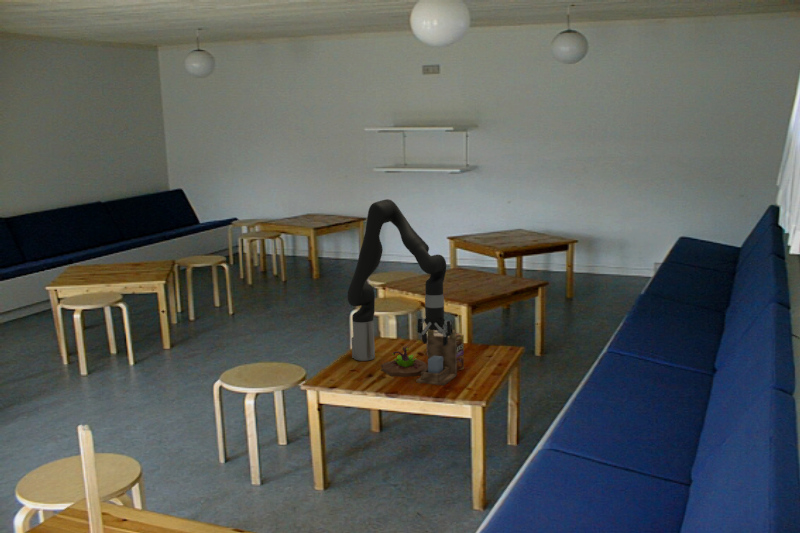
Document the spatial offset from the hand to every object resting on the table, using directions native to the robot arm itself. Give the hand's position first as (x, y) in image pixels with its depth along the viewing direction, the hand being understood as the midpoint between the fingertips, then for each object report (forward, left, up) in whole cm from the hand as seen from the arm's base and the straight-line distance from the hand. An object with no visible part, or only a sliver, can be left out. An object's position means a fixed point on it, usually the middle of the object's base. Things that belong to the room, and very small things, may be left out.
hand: (435, 344), depth 301 cm
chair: (0, +1, -15) cm, 15 cm away
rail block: (0, 0, -14) cm, 14 cm away
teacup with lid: (-12, +30, -15) cm, 36 cm away
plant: (-17, +7, -15) cm, 24 cm away
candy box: (+2, +14, -15) cm, 20 cm away
